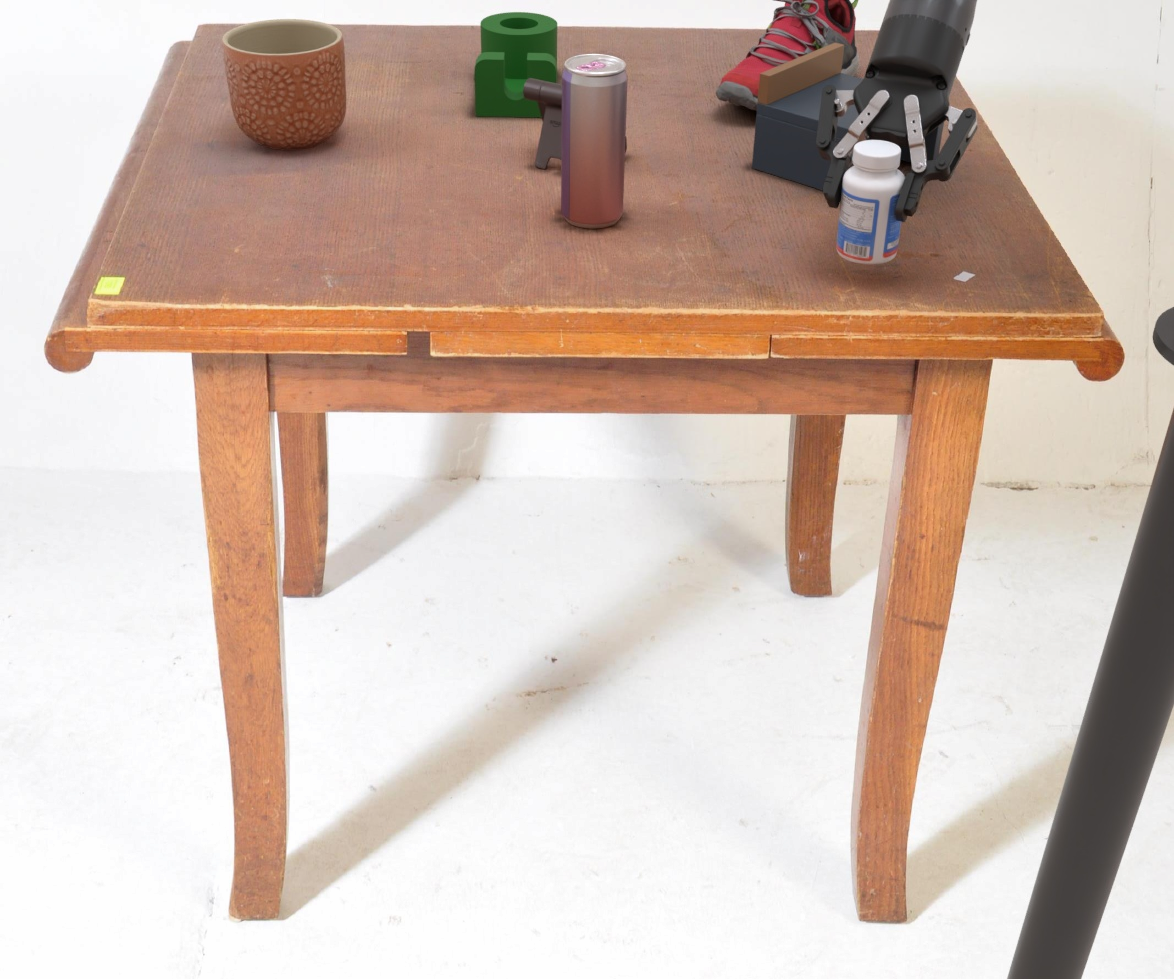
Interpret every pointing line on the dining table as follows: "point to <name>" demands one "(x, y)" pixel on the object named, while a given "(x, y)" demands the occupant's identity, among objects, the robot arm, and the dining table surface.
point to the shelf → (806, 117)
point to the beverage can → (593, 140)
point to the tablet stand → (548, 118)
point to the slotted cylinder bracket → (513, 62)
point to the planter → (286, 81)
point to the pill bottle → (870, 204)
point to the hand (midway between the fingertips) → (865, 210)
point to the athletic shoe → (793, 44)
